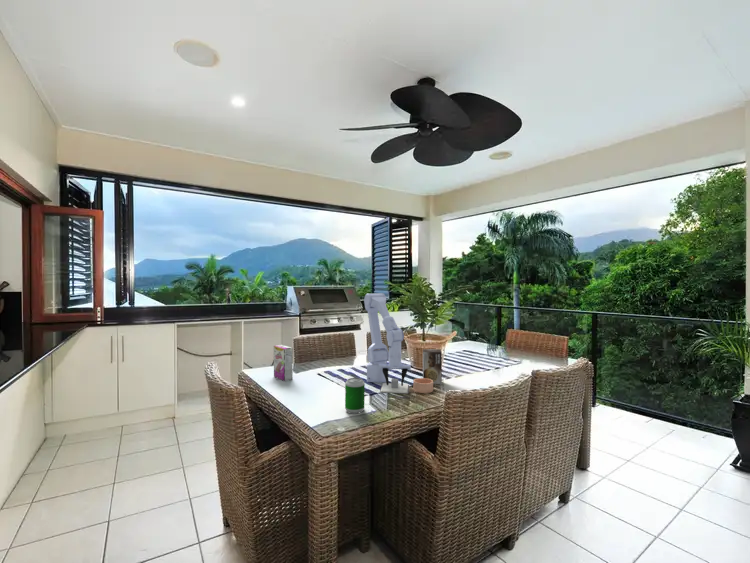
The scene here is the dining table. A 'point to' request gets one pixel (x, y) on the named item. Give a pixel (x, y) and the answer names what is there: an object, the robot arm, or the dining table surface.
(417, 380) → the bowl
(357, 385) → the soda can
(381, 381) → the robot arm
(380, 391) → the mat
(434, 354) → the coffee box
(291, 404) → the dining table surface
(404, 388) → the cover
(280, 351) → the candy bar box
